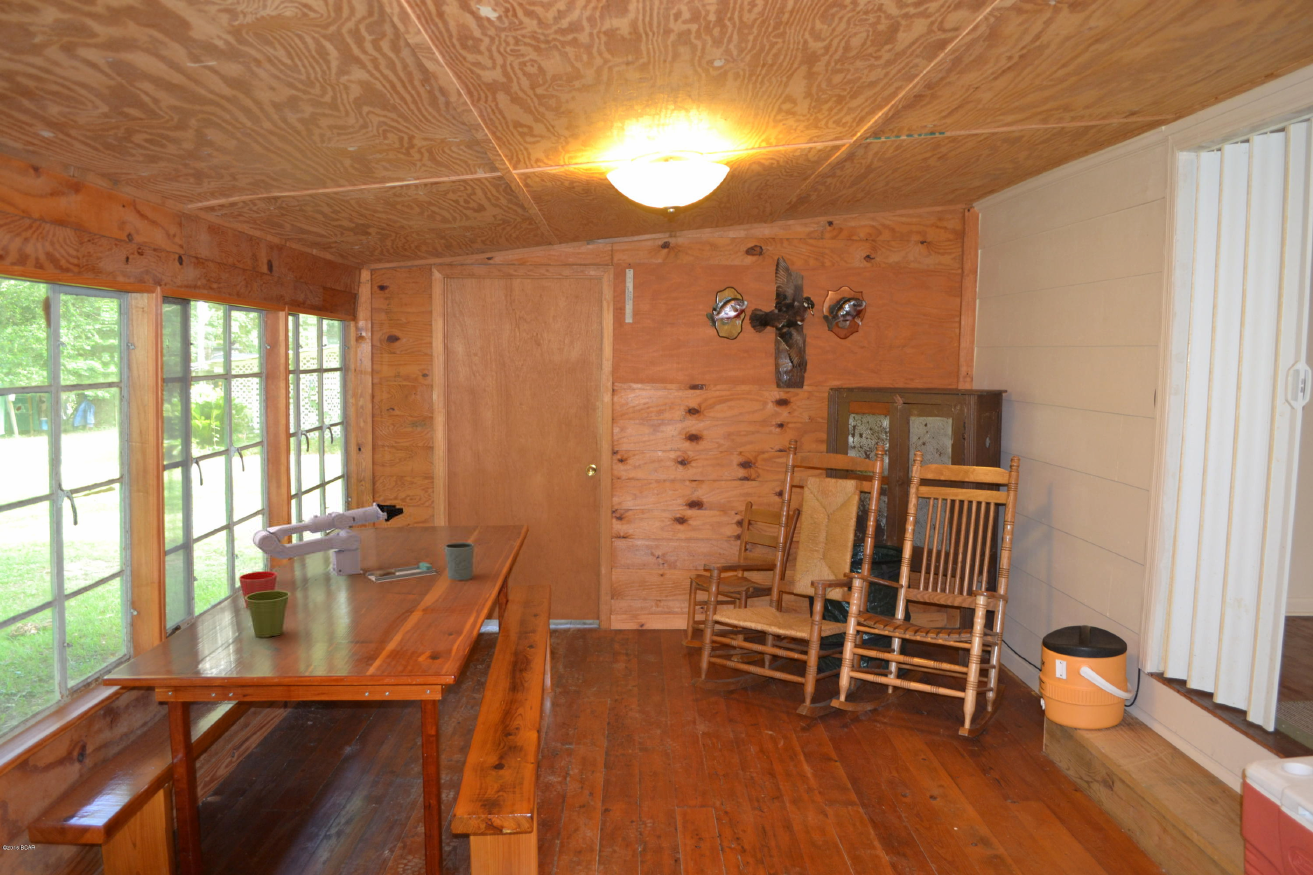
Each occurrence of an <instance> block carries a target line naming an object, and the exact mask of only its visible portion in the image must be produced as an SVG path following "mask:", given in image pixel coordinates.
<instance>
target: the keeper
mask: <svg viewBox="0 0 1313 875" xmlns="http://www.w3.org/2000/svg"><path fill="white" fill-rule="evenodd" d="M392 569H393V568H386V569H379V570H374V571H373V572H374V577H376V578H377V577H383V576H390V575H396V571H394V570H392Z"/></svg>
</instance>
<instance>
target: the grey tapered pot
mask: <svg viewBox="0 0 1313 875" xmlns="http://www.w3.org/2000/svg"><path fill="white" fill-rule="evenodd" d="M474 547H475V545H474V543H472V542H461V541H460V542H452V543H447V544H445V546H444V550H445V551H444V552H445V558H446V566H447V577H448V579H450V580H455V581H458V582H463V581H462V580H465V581H469V580H472V579H473V577H474V552H475V551H474V550H475V549H474ZM471 578H472V579H471Z"/></svg>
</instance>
